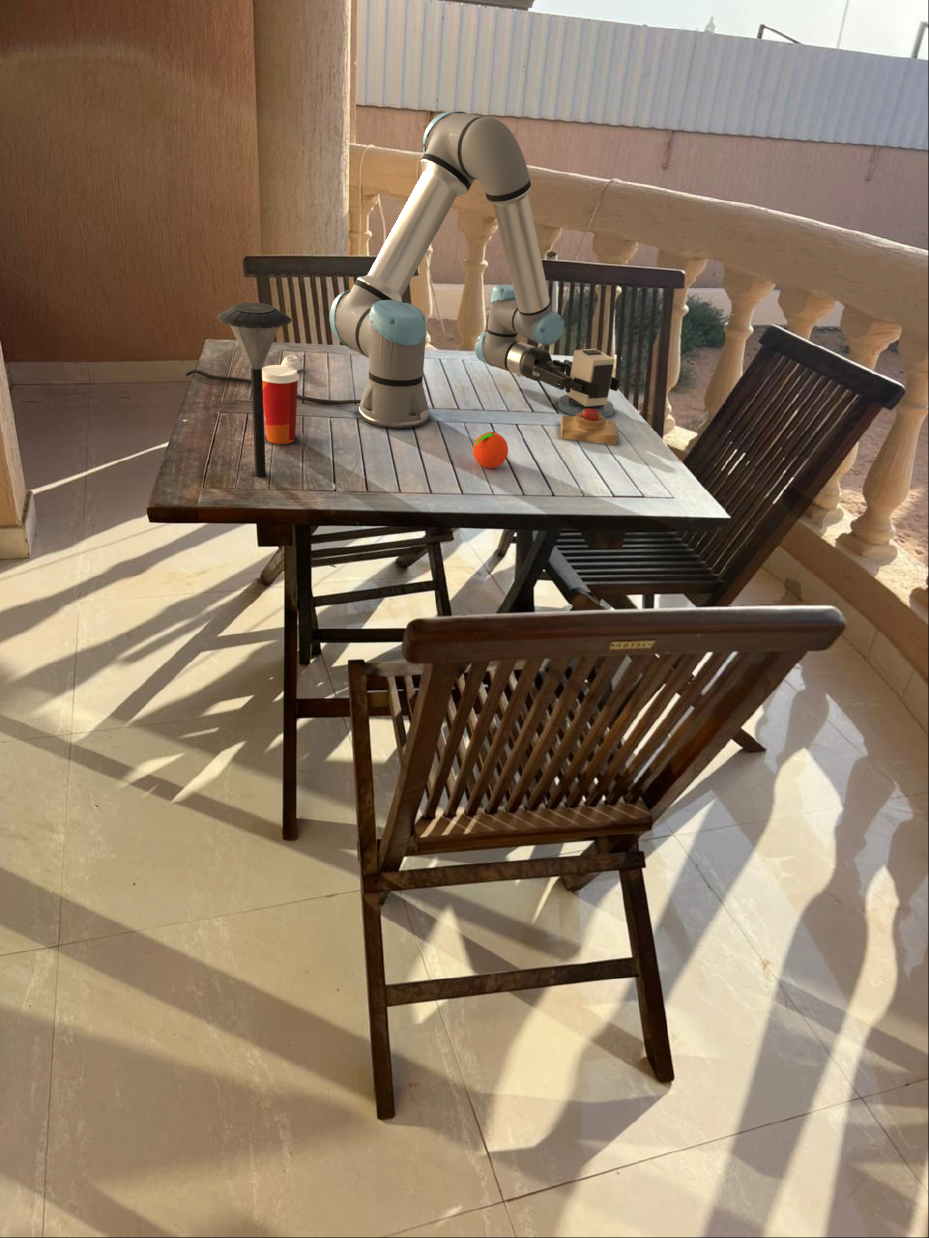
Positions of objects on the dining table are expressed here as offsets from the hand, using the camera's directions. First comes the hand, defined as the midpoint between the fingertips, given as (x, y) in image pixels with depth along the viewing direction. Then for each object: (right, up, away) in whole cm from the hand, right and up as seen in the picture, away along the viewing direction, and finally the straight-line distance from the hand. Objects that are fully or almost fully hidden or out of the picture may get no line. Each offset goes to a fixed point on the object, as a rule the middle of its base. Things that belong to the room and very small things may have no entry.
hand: (607, 388), depth 202 cm
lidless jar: (-75, +7, +11) cm, 77 cm away
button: (-5, -9, -10) cm, 15 cm away
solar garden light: (-71, -27, -41) cm, 86 cm away
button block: (-6, -12, -8) cm, 16 cm away
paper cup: (-70, -17, -26) cm, 77 cm away
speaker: (-4, -2, +5) cm, 7 cm away
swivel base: (-4, -3, +6) cm, 8 cm away
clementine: (-29, -23, -28) cm, 47 cm away
